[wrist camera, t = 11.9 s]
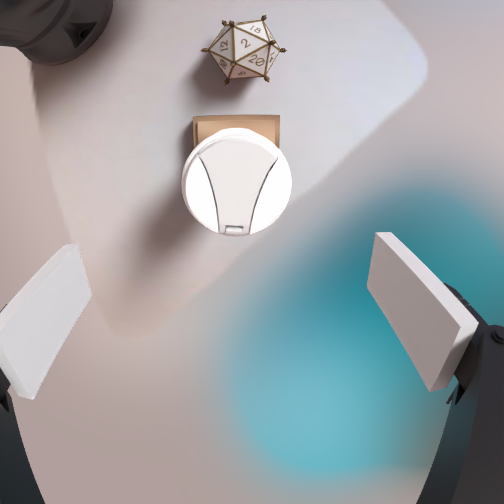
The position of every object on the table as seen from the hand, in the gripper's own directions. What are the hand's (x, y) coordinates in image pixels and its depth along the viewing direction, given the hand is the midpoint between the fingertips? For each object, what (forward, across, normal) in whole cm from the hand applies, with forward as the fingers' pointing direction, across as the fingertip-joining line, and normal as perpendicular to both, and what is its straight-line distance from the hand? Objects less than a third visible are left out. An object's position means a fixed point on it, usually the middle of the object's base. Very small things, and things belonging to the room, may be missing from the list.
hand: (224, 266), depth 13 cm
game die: (+29, +2, +14) cm, 32 cm away
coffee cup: (+25, +1, +1) cm, 25 cm away
